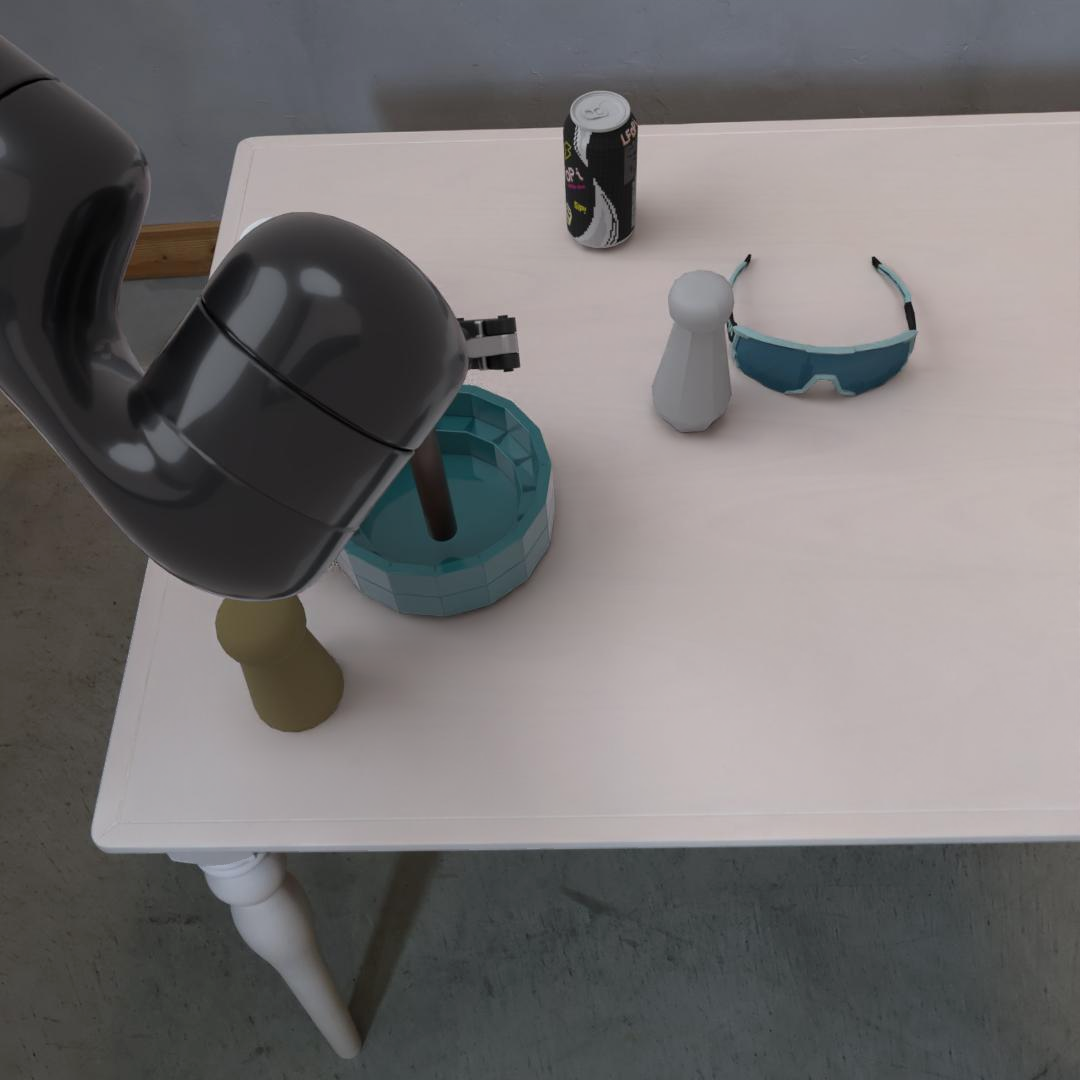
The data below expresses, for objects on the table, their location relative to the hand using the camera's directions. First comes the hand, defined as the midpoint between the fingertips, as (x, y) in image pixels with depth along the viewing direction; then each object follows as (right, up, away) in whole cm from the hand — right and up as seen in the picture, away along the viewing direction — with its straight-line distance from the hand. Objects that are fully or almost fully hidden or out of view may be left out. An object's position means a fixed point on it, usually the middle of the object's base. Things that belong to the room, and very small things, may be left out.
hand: (404, 346), depth 64 cm
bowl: (+1, -10, +16) cm, 19 cm away
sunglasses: (+29, +6, +24) cm, 38 cm away
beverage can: (+13, +15, +31) cm, 37 cm away
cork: (-8, -21, +10) cm, 25 cm away
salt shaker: (+19, -1, +21) cm, 28 cm away
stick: (+1, -10, +12) cm, 16 cm away
